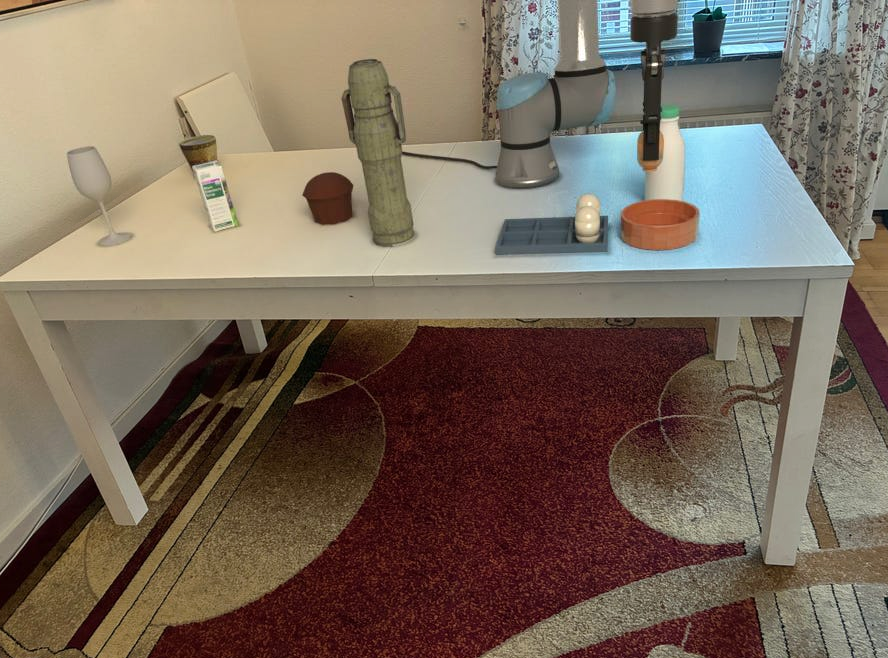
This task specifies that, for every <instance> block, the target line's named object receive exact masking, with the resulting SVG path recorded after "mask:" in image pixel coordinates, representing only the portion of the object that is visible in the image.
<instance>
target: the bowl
mask: <svg viewBox="0 0 888 658" xmlns="http://www.w3.org/2000/svg"><path fill="white" fill-rule="evenodd" d="M700 215H701V214H700V209H699V208H698V207H697V206H695V204H692V203H690V202H688V201H685V200H683V201H679V200H671V199H651V200H645V199H644V200H640V201H636V202H634V203H633V202H632V203H630V204H628V205H626V206H624V208H622V210H621V211H620V239H621V240H622V241H623V243H625V244H626V245H629V246H630V247H633V248H637V249H641V250H651V251H669V250H674V249H680V248H683V247H686V246H689V245H691V244H692V243H694V242H695V241H696V240H697V239H698V237H699V230H700V229H699V228H700Z"/></svg>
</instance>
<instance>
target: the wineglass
mask: <svg viewBox="0 0 888 658" xmlns="http://www.w3.org/2000/svg"><path fill="white" fill-rule="evenodd" d="M66 159H67V163H68V168H69V171H70V175H71V179H72V182H73V185H74V187H75V188H76V190H77V191H78V192H79V194H81V195H82V196H84V197H85V198H87V199H88V200H91V201H94V202H96V203H97V204H98V205H99V206H100V208H101V209H100V210H101V212H102V214H103V217H104V219H105V222H106V225H107V226H108V230H109V235H106V236H105V237H102V238H101V239H99V240H98V245H99V246H101V247H112V246H115V245H120V244H122V243H126V242H127V241H129V240H130V239H131V238H132V234H130V233H129V232H118V233H117V232H116V231H114V229H113V226H112V224H111V221H110V218H109V216H108V213H107V210H106V208H105V199H106V198H107V197H108V195H109V193H110V191H111V188H112V182H113V181H112V177H111V174H110V172H109V170H108V168H107V166H106V164H105V162H104V159H103V158H102V156H101V154H100V153H99V151H98V149H97V148H96V146H91V145H90V146H82V147H78V148H73V149H71V150H69V151H67V152H66Z"/></svg>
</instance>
